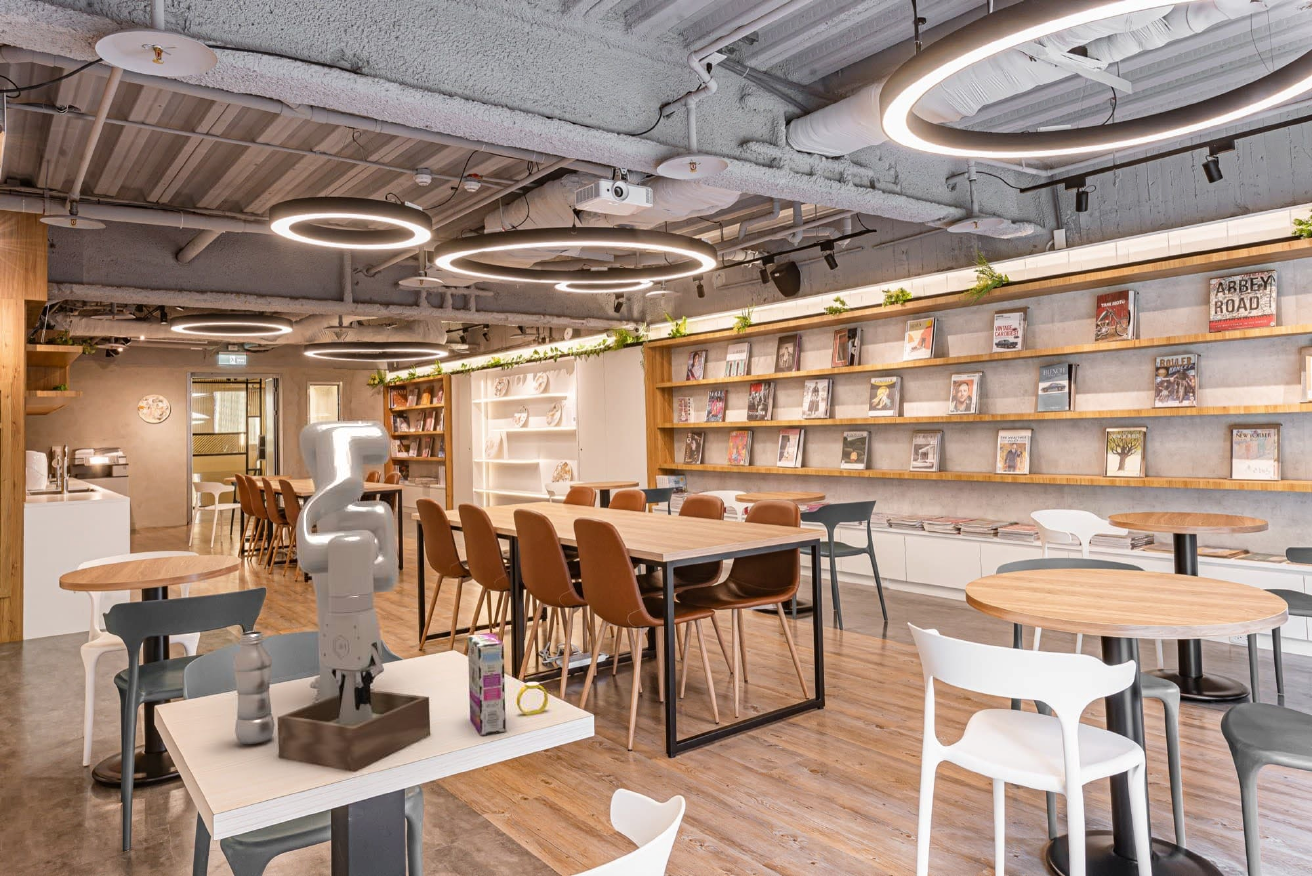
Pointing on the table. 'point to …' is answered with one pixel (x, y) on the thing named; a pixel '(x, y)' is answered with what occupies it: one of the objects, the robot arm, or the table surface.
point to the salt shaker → (352, 703)
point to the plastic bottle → (253, 690)
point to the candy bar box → (486, 683)
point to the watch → (532, 686)
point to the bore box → (353, 731)
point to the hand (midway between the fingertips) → (355, 706)
